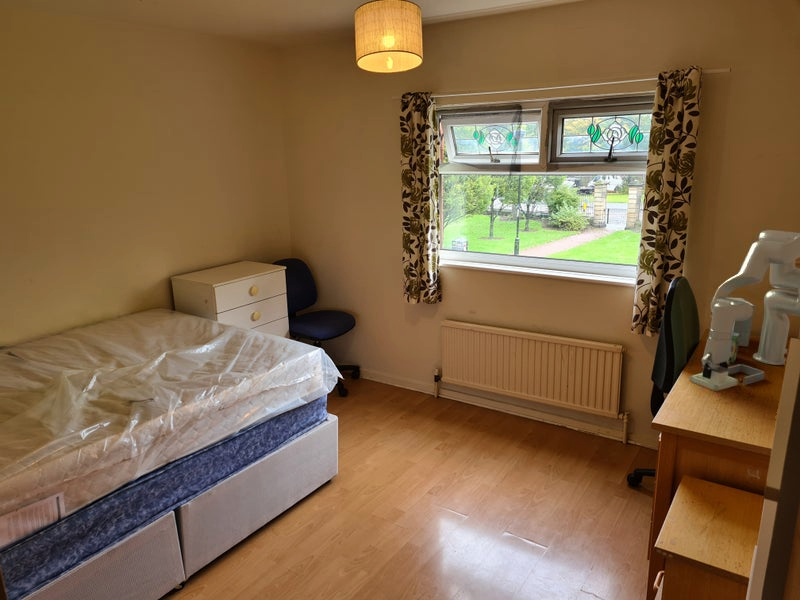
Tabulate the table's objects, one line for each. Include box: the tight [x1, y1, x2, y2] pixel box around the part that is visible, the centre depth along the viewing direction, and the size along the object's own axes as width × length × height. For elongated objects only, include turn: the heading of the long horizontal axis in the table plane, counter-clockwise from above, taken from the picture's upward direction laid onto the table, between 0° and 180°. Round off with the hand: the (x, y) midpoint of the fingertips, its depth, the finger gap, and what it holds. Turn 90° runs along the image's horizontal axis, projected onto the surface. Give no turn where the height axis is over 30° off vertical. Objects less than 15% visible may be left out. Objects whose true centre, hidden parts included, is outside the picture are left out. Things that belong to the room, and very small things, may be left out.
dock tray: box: [689, 372, 739, 392], centre depth 216 cm, size 13×11×2 cm
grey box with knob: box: [702, 363, 729, 385], centre depth 215 cm, size 5×7×7 cm
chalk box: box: [729, 332, 741, 363], centre depth 240 cm, size 9×9×15 cm
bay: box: [728, 363, 766, 386], centre depth 220 cm, size 13×10×3 cm
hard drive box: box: [728, 297, 756, 347], centre depth 260 cm, size 16×8×20 cm, turn 168°
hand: (714, 375), depth 215 cm, fingers open, 9 cm apart
